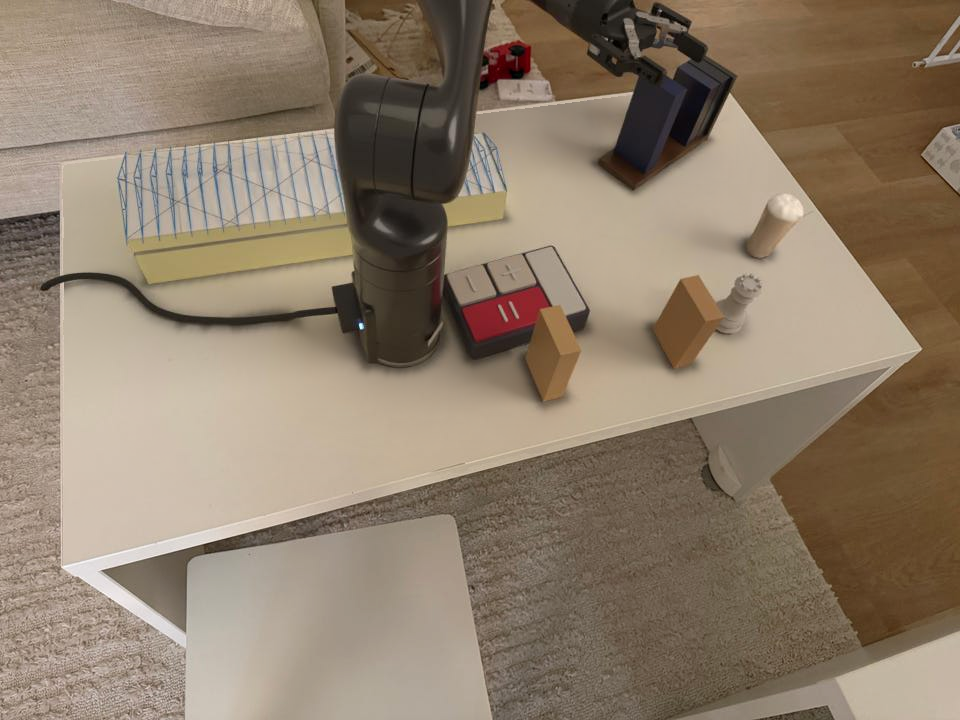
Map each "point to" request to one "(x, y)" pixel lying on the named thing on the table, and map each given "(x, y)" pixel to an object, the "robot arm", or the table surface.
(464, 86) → the robot arm
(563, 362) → the tan blocks
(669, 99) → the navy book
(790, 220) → the milkshake
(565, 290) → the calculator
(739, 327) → the rook chess piece
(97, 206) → the table surface
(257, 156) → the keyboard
